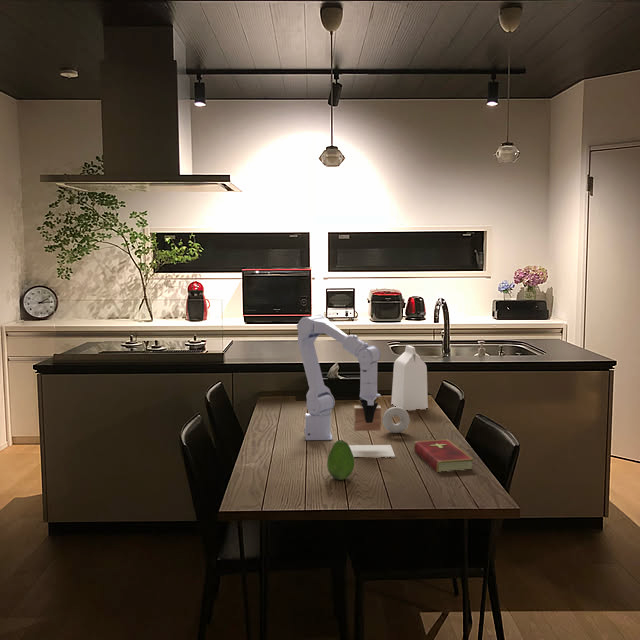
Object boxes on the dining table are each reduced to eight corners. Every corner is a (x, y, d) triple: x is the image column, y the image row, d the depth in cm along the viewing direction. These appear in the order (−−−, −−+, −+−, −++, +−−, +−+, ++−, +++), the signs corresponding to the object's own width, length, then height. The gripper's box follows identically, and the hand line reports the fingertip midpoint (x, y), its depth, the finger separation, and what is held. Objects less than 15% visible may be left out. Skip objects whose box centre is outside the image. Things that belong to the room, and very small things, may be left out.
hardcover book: (437, 474, 208) (437, 460, 208) (414, 452, 229) (414, 440, 228) (473, 471, 211) (473, 458, 210) (447, 450, 231) (447, 438, 230)
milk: (391, 404, 293) (392, 344, 289) (415, 402, 296) (416, 343, 293) (402, 410, 281) (403, 349, 278) (427, 408, 285) (429, 348, 281)
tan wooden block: (381, 430, 230) (381, 407, 229) (354, 431, 230) (354, 408, 229) (379, 427, 233) (380, 405, 232) (353, 428, 233) (353, 405, 232)
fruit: (338, 472, 208) (338, 434, 207) (359, 478, 203) (359, 439, 202) (321, 479, 202) (322, 440, 200) (343, 485, 197) (343, 445, 196)
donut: (382, 434, 248) (383, 407, 247) (381, 431, 251) (382, 405, 250) (410, 434, 248) (410, 407, 247) (408, 431, 252) (409, 405, 250)
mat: (346, 457, 221) (346, 456, 221) (344, 446, 233) (344, 445, 233) (395, 457, 222) (395, 456, 222) (390, 446, 234) (390, 444, 234)
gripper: (383, 386, 222) (382, 426, 224) (378, 377, 237) (377, 415, 239) (361, 386, 222) (361, 426, 224) (358, 377, 237) (357, 415, 238)
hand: (368, 420), depth 231 cm, fingers closed on tan wooden block, 3 cm apart
